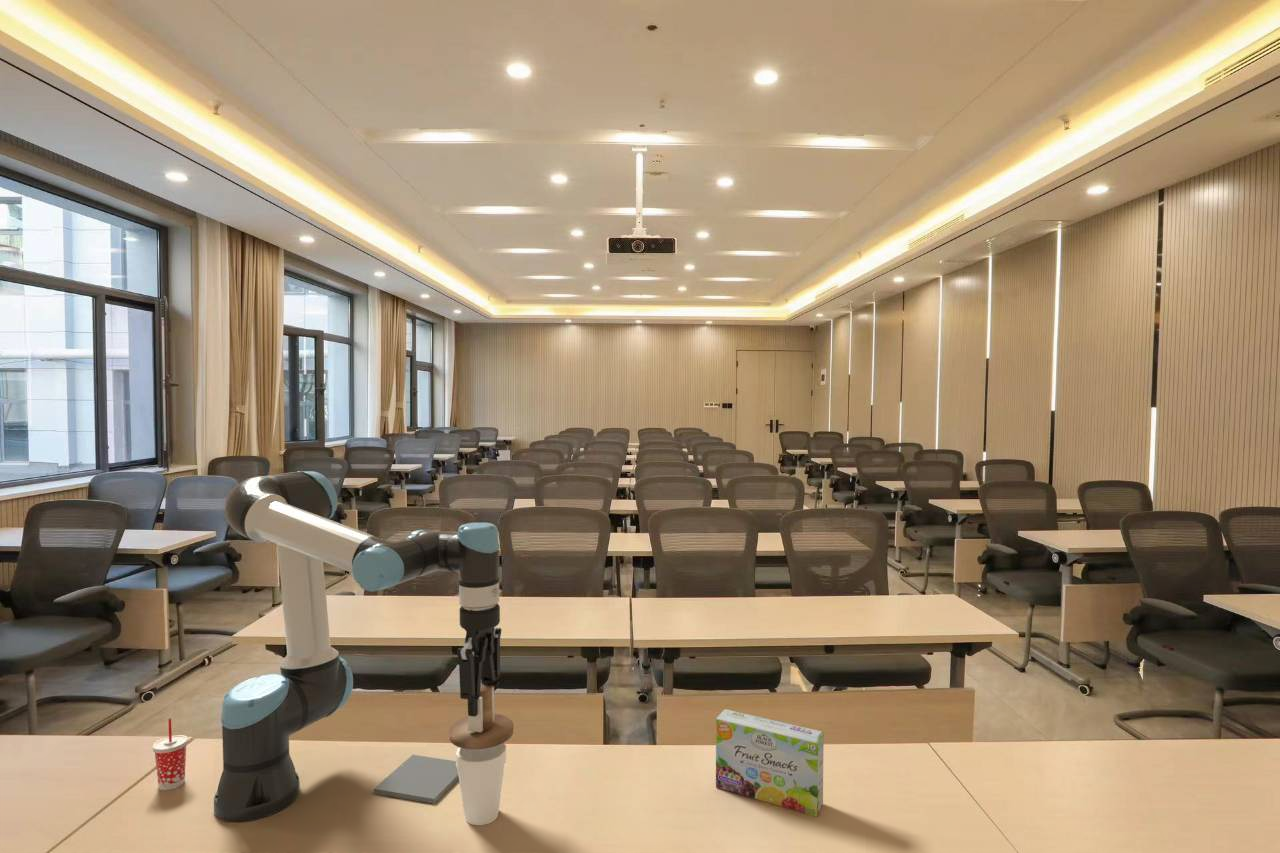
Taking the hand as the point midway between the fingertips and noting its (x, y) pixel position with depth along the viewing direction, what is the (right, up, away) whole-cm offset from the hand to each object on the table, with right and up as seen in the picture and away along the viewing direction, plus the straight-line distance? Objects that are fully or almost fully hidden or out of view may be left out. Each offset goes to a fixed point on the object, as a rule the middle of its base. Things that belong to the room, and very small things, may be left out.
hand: (481, 724), depth 134 cm
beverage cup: (-68, -18, +12) cm, 71 cm away
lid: (0, -2, 0) cm, 2 cm away
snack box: (+57, -18, +7) cm, 60 cm away
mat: (-15, -17, +13) cm, 27 cm away
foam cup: (0, -18, +1) cm, 18 cm away
